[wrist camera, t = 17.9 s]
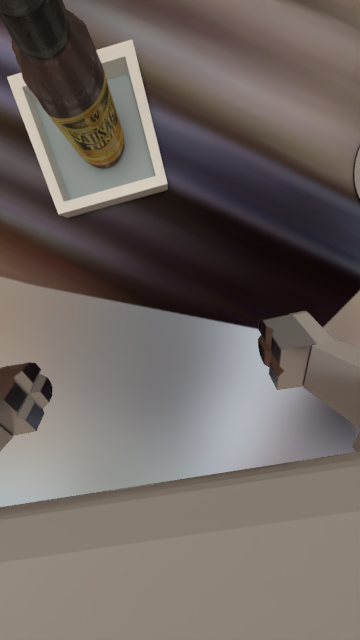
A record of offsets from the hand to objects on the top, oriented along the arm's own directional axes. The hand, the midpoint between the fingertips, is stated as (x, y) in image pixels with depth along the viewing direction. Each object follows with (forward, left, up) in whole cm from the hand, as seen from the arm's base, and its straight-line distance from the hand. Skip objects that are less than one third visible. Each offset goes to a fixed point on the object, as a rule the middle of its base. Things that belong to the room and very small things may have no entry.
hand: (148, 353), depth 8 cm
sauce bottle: (+3, -19, -28) cm, 33 cm away
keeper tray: (+4, -19, -28) cm, 34 cm away
